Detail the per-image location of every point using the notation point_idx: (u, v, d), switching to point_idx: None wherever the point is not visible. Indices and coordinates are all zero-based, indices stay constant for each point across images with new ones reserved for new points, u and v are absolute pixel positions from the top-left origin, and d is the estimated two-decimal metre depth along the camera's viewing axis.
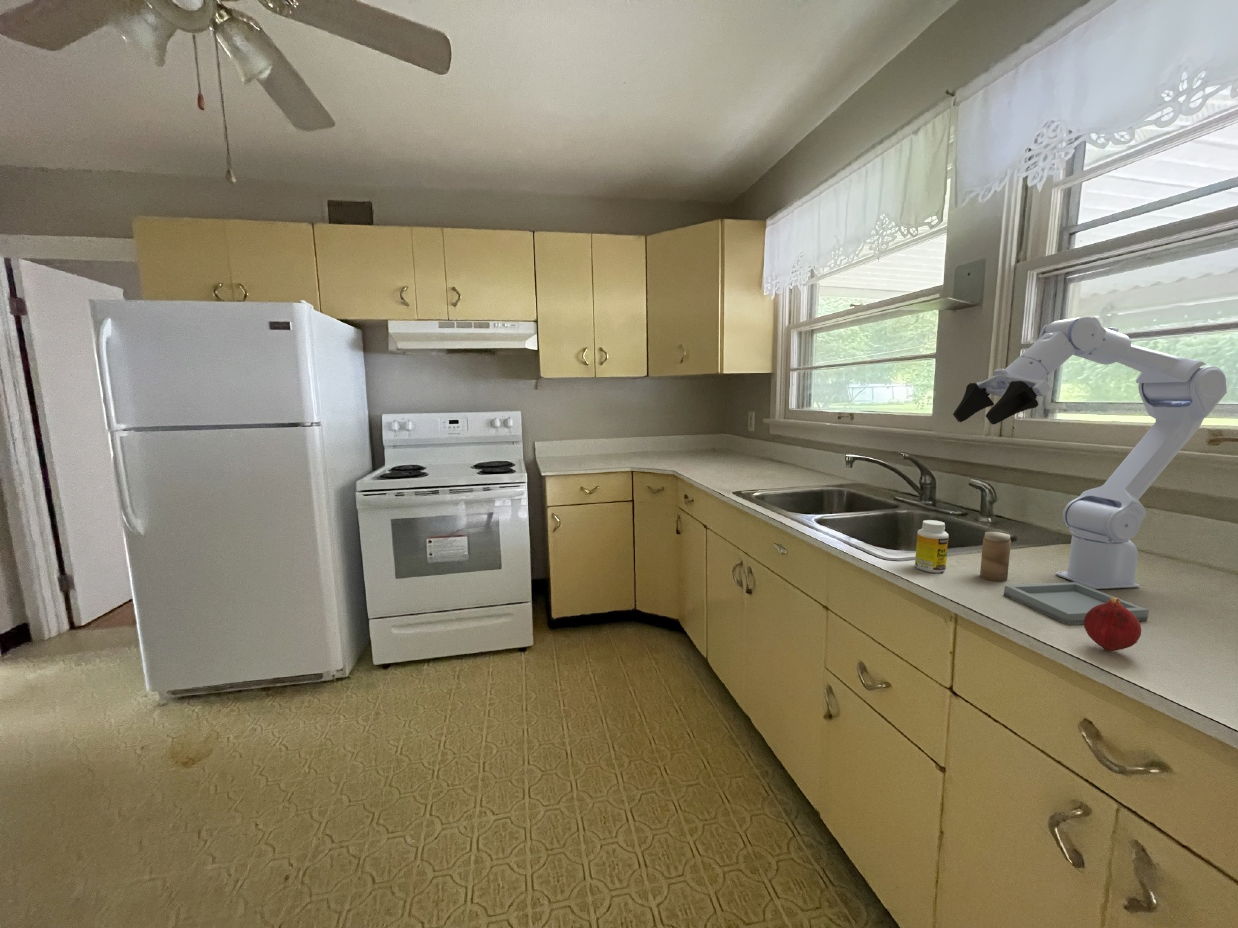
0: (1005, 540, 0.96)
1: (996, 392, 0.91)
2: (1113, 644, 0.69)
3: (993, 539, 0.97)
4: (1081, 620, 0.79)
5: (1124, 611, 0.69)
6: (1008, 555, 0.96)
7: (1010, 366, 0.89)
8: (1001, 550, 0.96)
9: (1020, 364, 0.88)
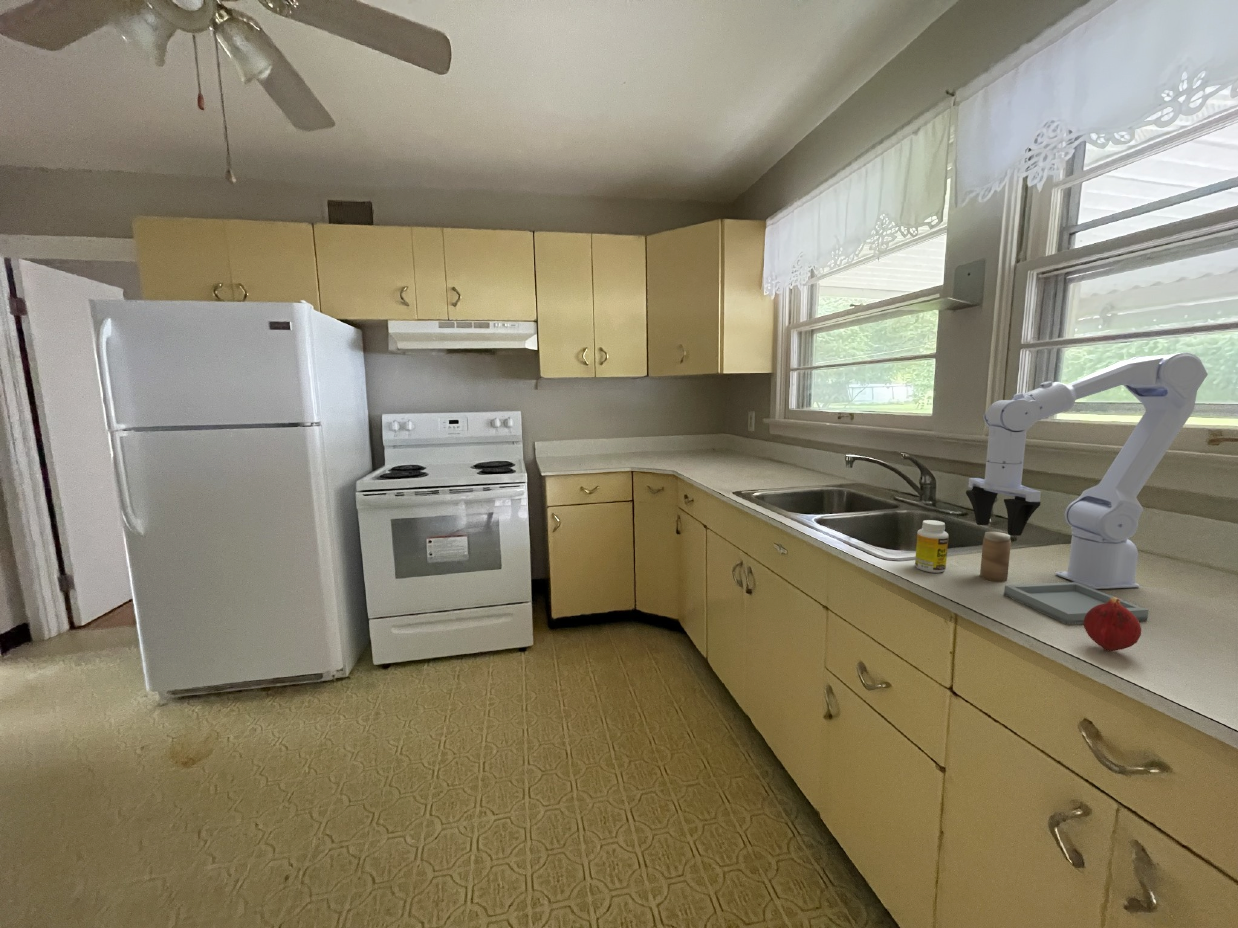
0: (1005, 540, 0.96)
1: (994, 491, 0.98)
2: (1113, 644, 0.69)
3: (993, 539, 0.97)
4: (1081, 620, 0.79)
5: (1124, 611, 0.69)
6: (1008, 555, 0.96)
7: (988, 474, 0.96)
8: (1001, 550, 0.96)
9: (995, 472, 0.95)
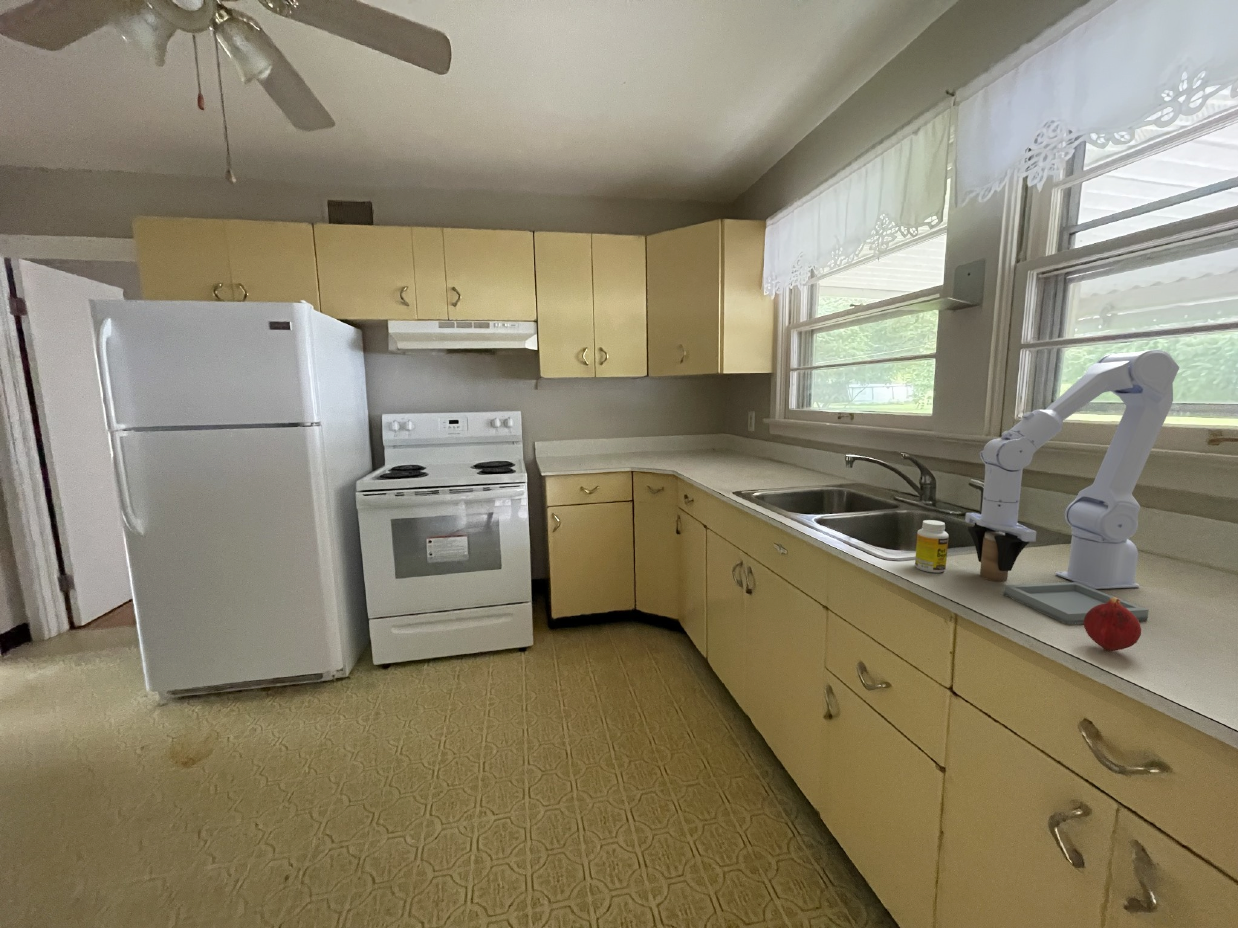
0: None
1: None
2: (1113, 644, 0.69)
3: (993, 539, 0.97)
4: (1081, 620, 0.79)
5: (1124, 611, 0.69)
6: None
7: (985, 512, 0.97)
8: None
9: (992, 510, 0.96)
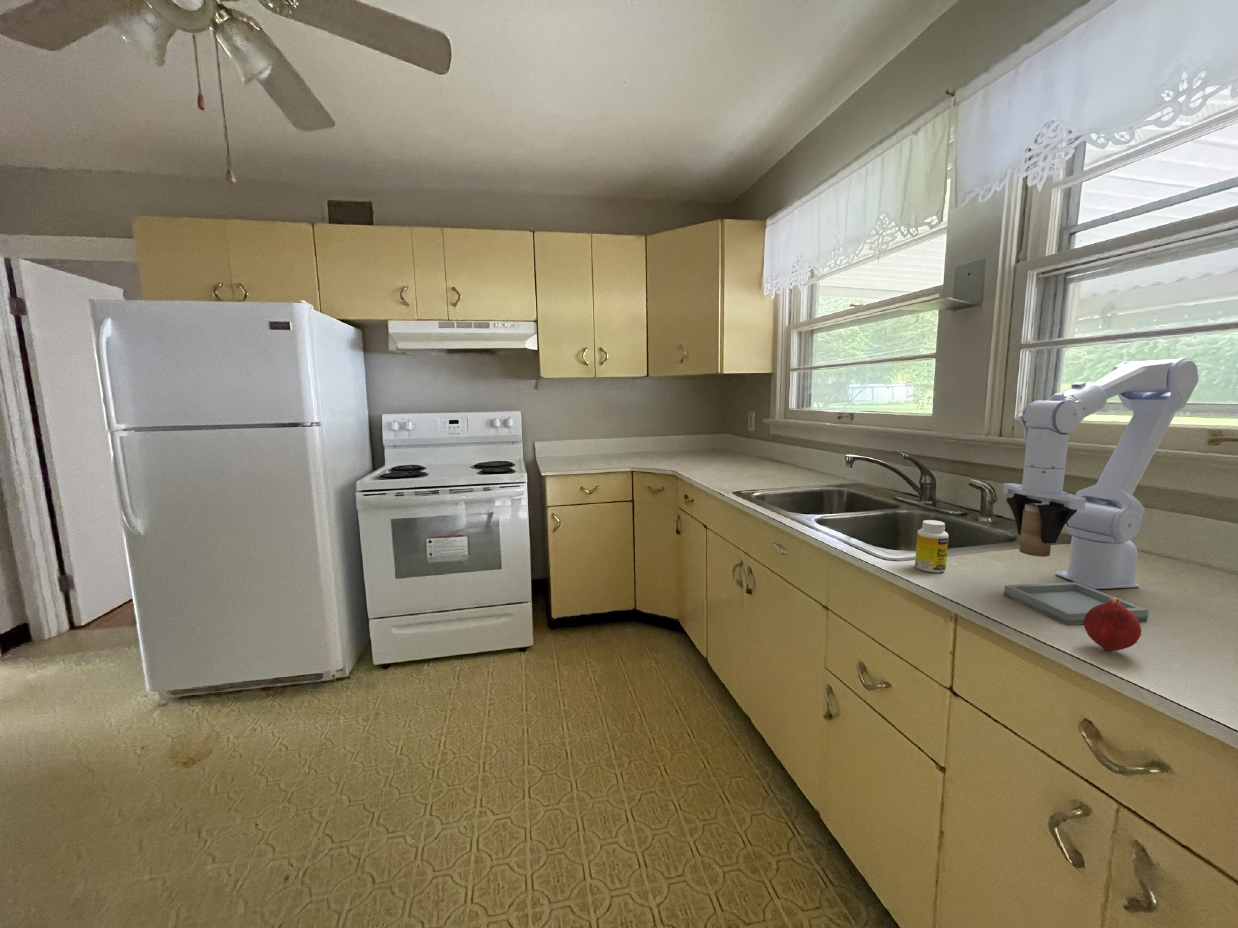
0: None
1: None
2: (1113, 644, 0.69)
3: (1034, 510, 0.90)
4: (1081, 620, 0.79)
5: (1124, 611, 0.69)
6: None
7: (1027, 480, 0.90)
8: None
9: (1035, 477, 0.89)
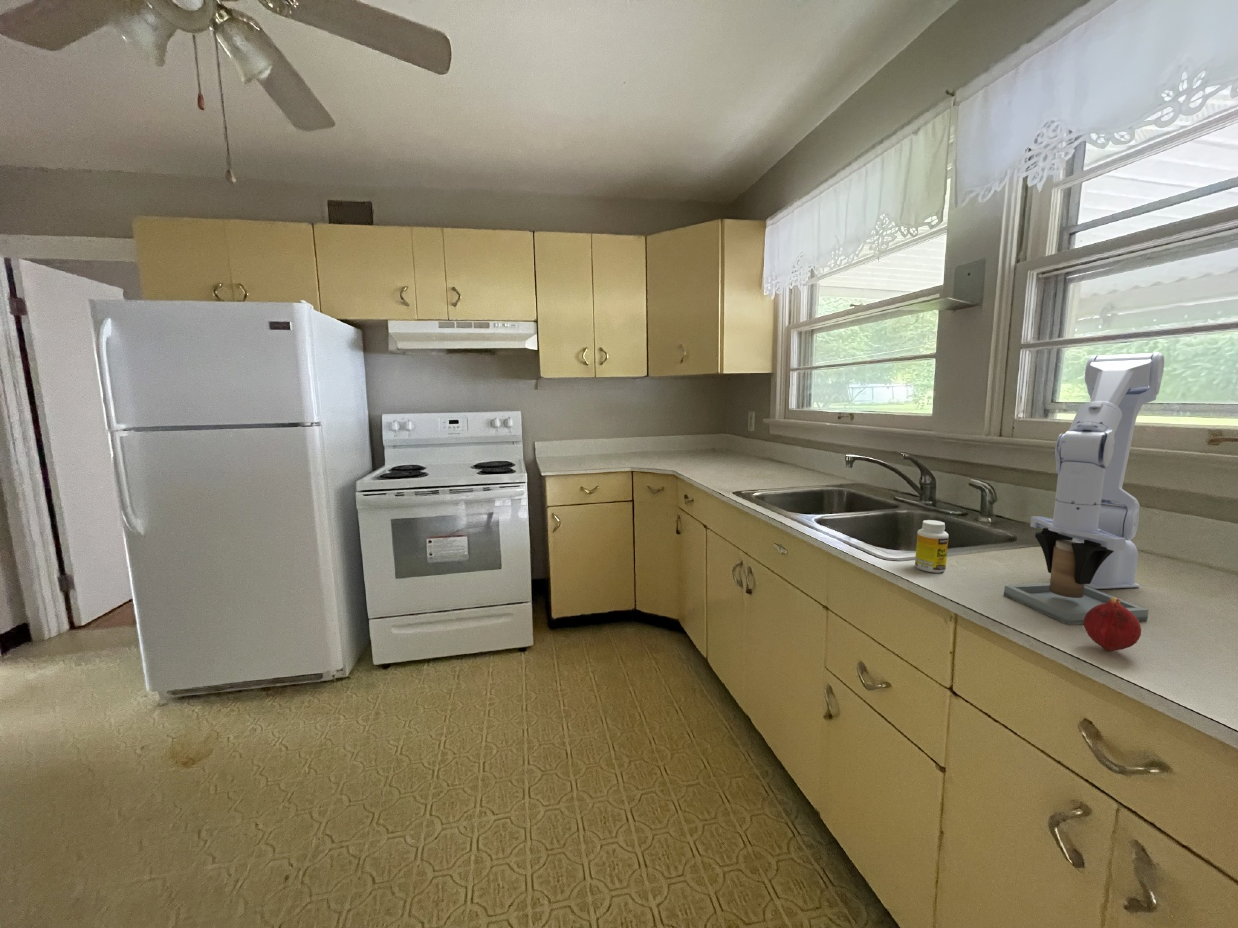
0: None
1: None
2: (1113, 644, 0.69)
3: (1067, 549, 0.84)
4: (1081, 620, 0.79)
5: (1124, 611, 0.69)
6: None
7: (1059, 515, 0.84)
8: None
9: (1068, 513, 0.83)
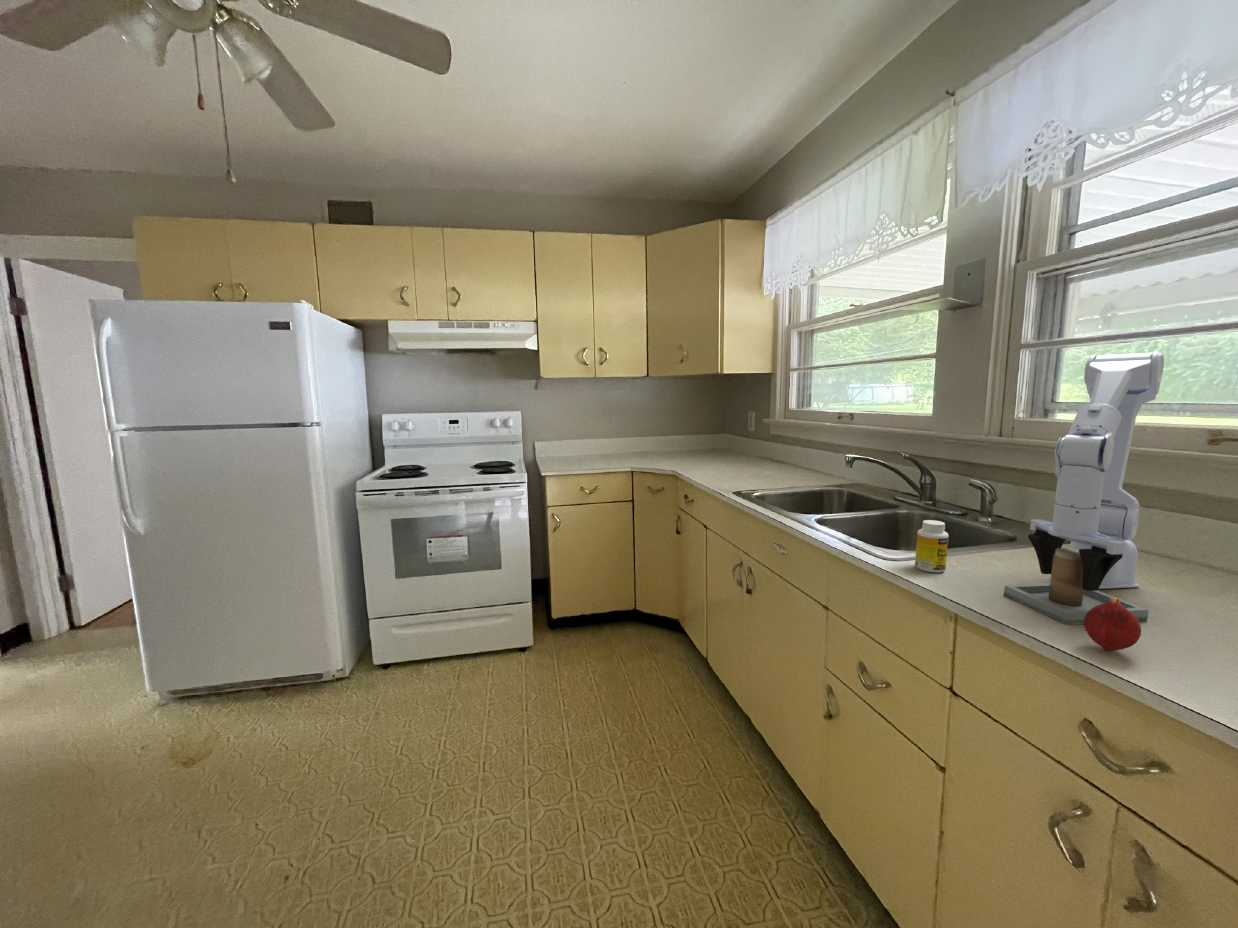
0: None
1: None
2: (1113, 644, 0.69)
3: (1067, 557, 0.84)
4: (1081, 620, 0.79)
5: (1124, 611, 0.69)
6: None
7: (1058, 519, 0.84)
8: (1076, 570, 0.83)
9: (1068, 517, 0.83)
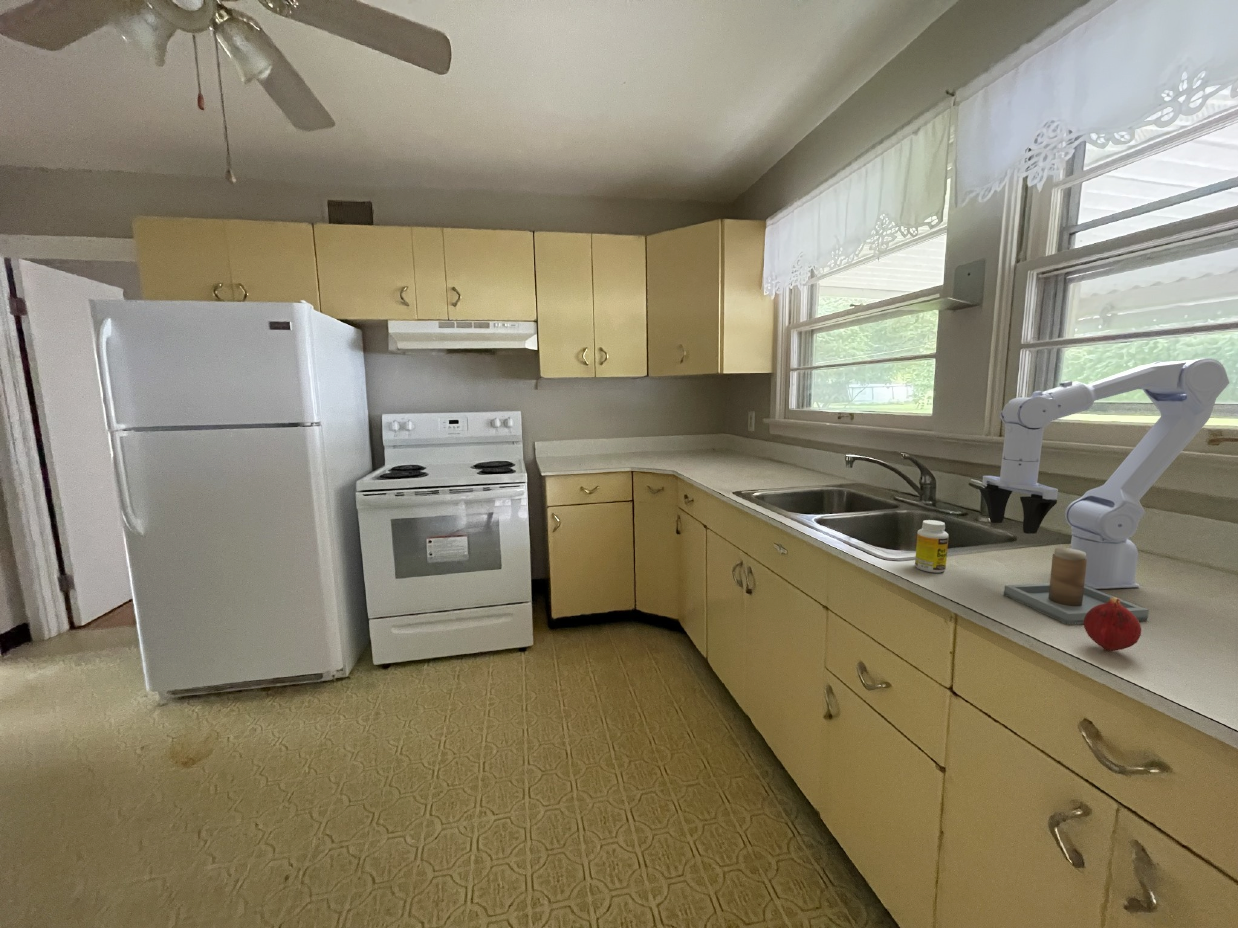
0: (1080, 558, 0.83)
1: (1009, 489, 0.98)
2: (1113, 644, 0.69)
3: (1066, 557, 0.84)
4: (1081, 620, 0.79)
5: (1124, 611, 0.69)
6: (1084, 576, 0.84)
7: (1004, 472, 0.96)
8: (1075, 569, 0.83)
9: (1012, 469, 0.94)
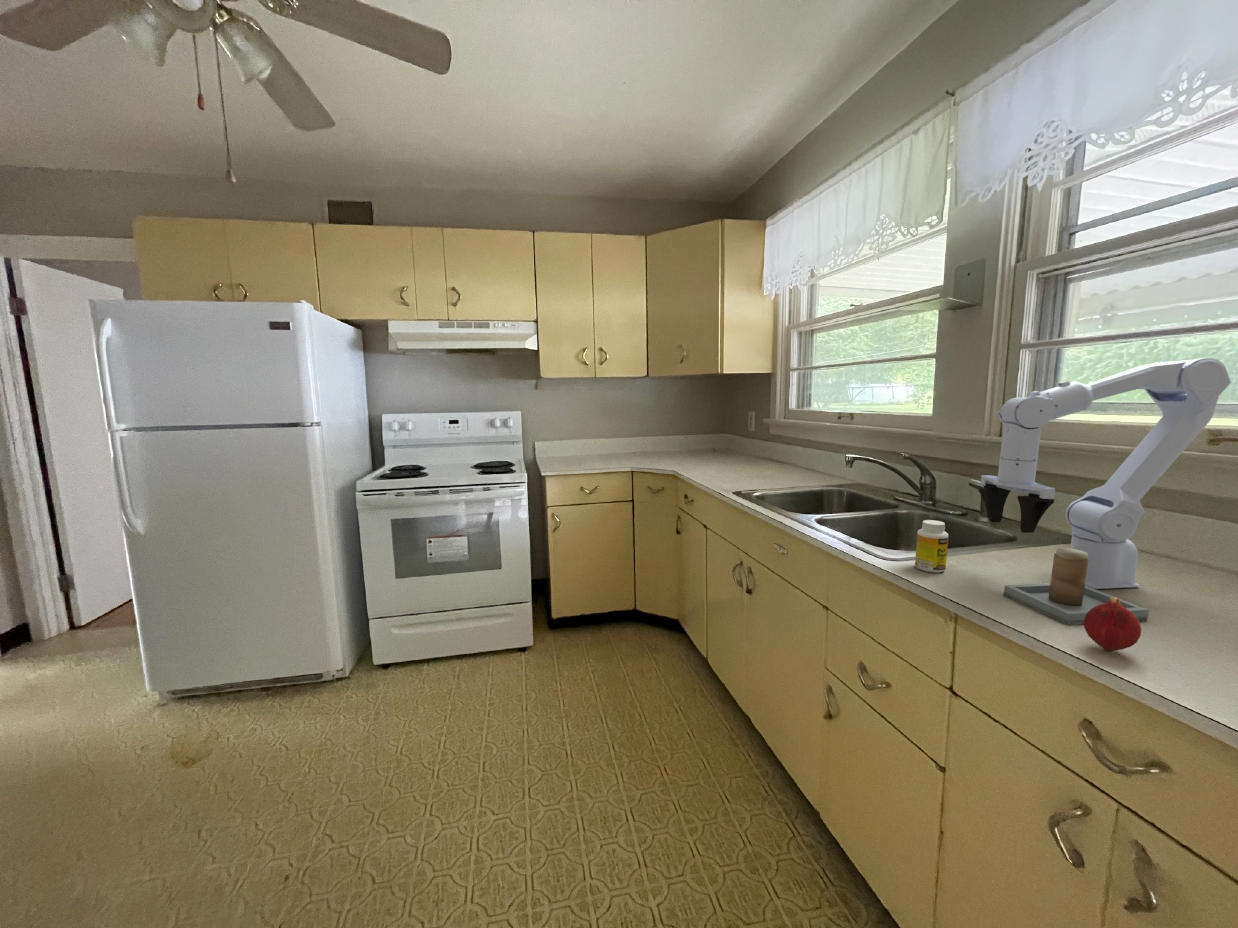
0: (1082, 558, 0.83)
1: None
2: (1113, 644, 0.69)
3: (1067, 557, 0.84)
4: (1081, 620, 0.79)
5: (1124, 611, 0.69)
6: (1085, 576, 0.84)
7: (1002, 471, 0.96)
8: (1076, 569, 0.83)
9: (1009, 469, 0.95)
